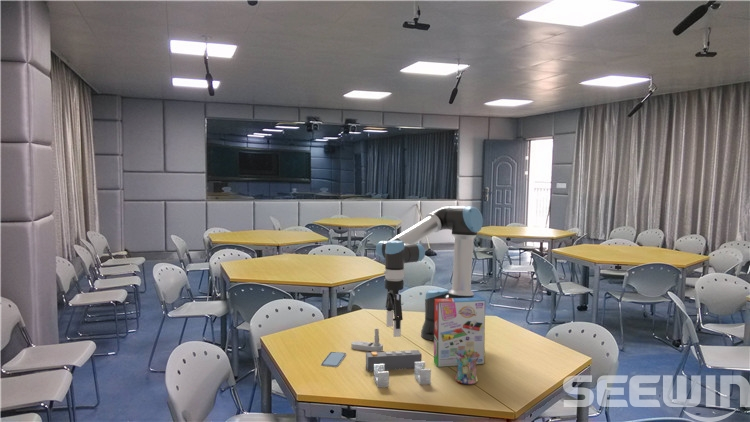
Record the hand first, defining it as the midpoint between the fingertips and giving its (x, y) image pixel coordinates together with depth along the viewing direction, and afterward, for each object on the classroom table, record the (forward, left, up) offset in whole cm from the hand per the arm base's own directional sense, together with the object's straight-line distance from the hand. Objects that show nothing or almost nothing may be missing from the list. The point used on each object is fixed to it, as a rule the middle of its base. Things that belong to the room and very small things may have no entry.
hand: (393, 331), depth 193 cm
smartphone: (+23, -12, -15) cm, 30 cm away
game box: (-28, 0, -15) cm, 32 cm away
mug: (-24, +19, -15) cm, 34 cm away
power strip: (0, 0, -15) cm, 15 cm away
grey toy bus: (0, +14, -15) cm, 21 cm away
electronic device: (+7, -23, -15) cm, 28 cm away
